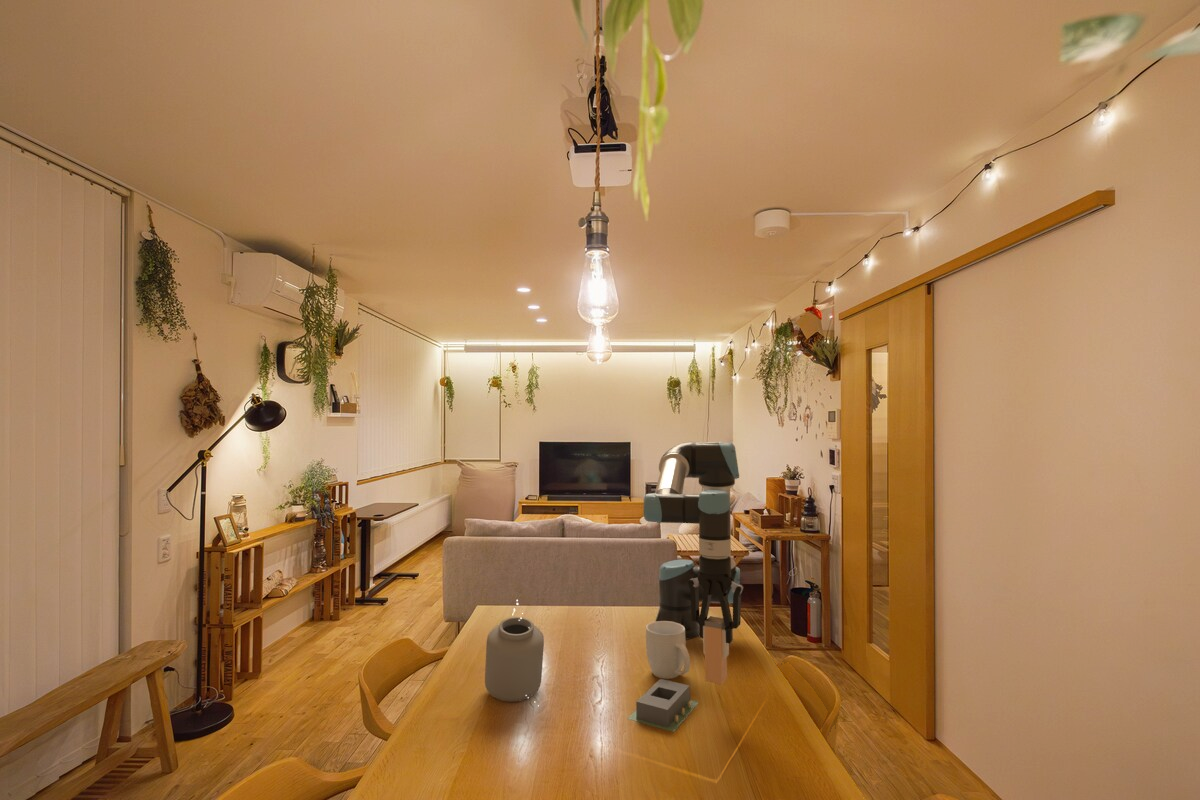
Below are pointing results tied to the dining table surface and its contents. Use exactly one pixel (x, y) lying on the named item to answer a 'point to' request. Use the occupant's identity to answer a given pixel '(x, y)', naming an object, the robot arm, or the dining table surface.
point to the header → (664, 705)
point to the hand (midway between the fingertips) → (716, 653)
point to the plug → (714, 651)
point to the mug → (667, 649)
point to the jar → (514, 659)
